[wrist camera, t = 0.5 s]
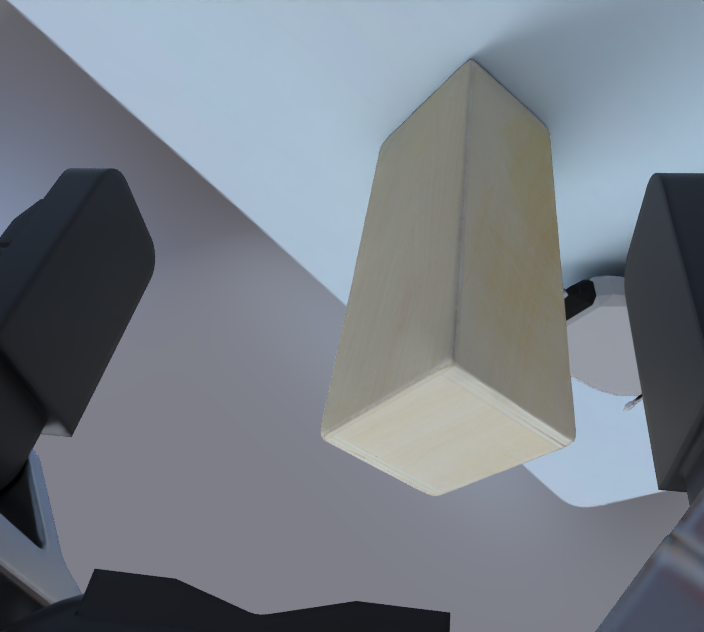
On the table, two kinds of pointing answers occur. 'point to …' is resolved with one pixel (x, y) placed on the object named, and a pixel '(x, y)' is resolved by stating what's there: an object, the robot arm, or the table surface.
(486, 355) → the toy refrigerator
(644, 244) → the robot arm
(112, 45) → the table surface
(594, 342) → the robot toy
